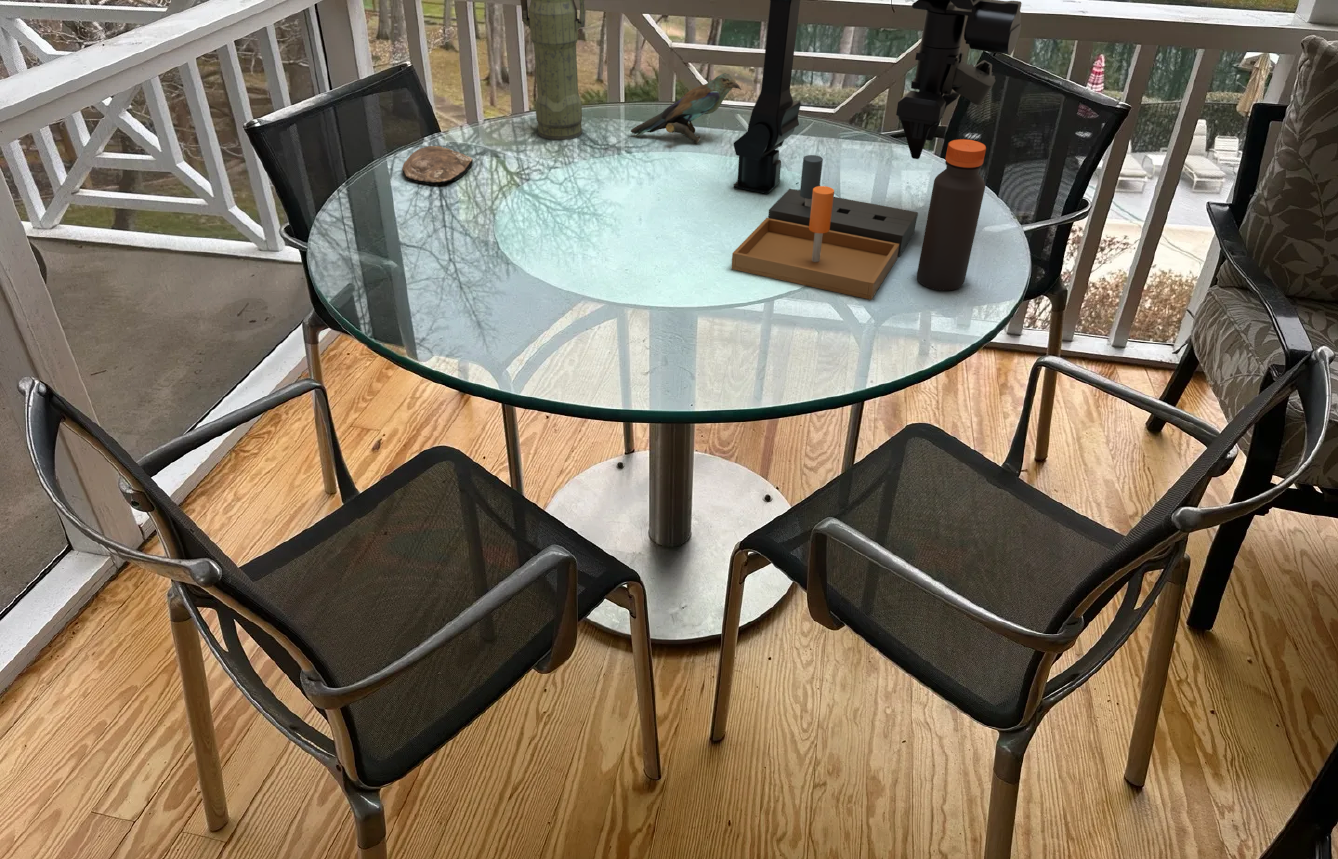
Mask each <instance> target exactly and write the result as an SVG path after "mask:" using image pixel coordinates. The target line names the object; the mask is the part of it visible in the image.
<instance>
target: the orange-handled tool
mask: <svg viewBox="0 0 1338 859" xmlns="http://www.w3.org/2000/svg"><path fill="white" fill-rule="evenodd" d="M834 195H835V189H834V188H832V187H830V186H827V185H820V186H818V187H815V188H813V194H812V204H811V213H810V223H809V230H810V231H812V232H814V233H815V234H814V243H813V252H812V261H813V262H819V261H820V254H821V245H822V237H823V233H827V232H829V230H830V222H831V214H832V205H833V197H835V196H834Z"/></svg>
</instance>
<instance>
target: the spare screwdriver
mask: <svg viewBox="0 0 1338 859" xmlns="http://www.w3.org/2000/svg"><path fill="white" fill-rule="evenodd" d="M823 160H824V159H823V157H822V156H820V155H815V154H809V155H808V154H807V155H805V156H803V158H802V169H801V179H800V189H799V190H800V196H801V197H803V198H805V205H804V206H807V207H811V204H812V194H813V188H815V187H818V186H821V180H822V171H823V162H824V161H823Z"/></svg>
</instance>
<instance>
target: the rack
mask: <svg viewBox="0 0 1338 859" xmlns="http://www.w3.org/2000/svg"><path fill="white" fill-rule="evenodd" d="M804 205H805V198H803V197H801V196H800V189H795V188H788V189H787V191H786V192H784V194H783V195H781V197H780V198H779V199H777V201H776V202H775V203H773V205H772V206H771V207H770V208H769V209H768V216H767V218H770V219H776V220H781V221H786V222H791V223H796V224H801V225H806V226H809V223H810V213H811V207H807V206H804ZM918 216H919V212H918V211H914V210H909V209H904V208H898V207H893V206H886V205H880V204H876V203H870V202H866V201H859V200H854V199H848V198H844V197H838V196H834V197H833V205H832V214H831V222H830V230H831V231H837V232H842V233H847V234H852V235H857V236H862V237H867V238H872V239H877V240H882V241H887V242H892V243H898V244H899V250H898V256H897V258H899V257H900V256H901V255H902V253H903V252H904V250H905V249H906V247H907V245H908V243H909V242H910V240H912V238H913V237H914V234H915V233H916V228H917V221H918Z"/></svg>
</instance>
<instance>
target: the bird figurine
mask: <svg viewBox="0 0 1338 859" xmlns="http://www.w3.org/2000/svg"><path fill="white" fill-rule="evenodd" d="M733 89H738V90H740V91H742V87H741V86H740V85H739V84H738V83H737V82H736V79H735V78H734V77H733V76H732V75H731V74H730V73H726V72H724V73H721V74H719V75H717V76H716V77H715V78H714V79H712V80H710V81H709V82H707V83H704V84H701V85H698V86H696V87H694V88H692V89H691V90H688V91H687V92H686V93H685V94H683V96H682V97H680V99H679V100H677V101H676V102H674V103H672V104H671V105H669V106H667V107H666V108H665V109H664V110H663V111H662V112H660V113H658V114H657V115H654V116H653V117H651V118H649V119H647V120H645V121H644V122H642V123H640V124H638V125H636V126H634V127H632V129H630V133H632V134H633V135H634V137H635V138H638V137H639V136H641V135H643V134H646V133H654V132H657V131H661V130H664V129H665V130H666V132H668V133H669V134H675V133H679V134H681V135H683V136H685V137H687V138H688V139H689V140H690V141H691V142H693V143H695V144H696V145H697V144H698V143H699V142H700V139H701V136H700V135H699V136H698V135H696V133H695V132H696V127H695V126H694V125H693V123H692V122H693V121H694V120H697V119H698V118H700V117H701V116H703V115H709V114H713V113H715V112H716V111H717V110H718V109H719V108H720V107H721V105H722V103H723V101H724V100H725V99H726V96H727V95H728V94H729V92H730V91H732V90H733Z"/></svg>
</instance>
